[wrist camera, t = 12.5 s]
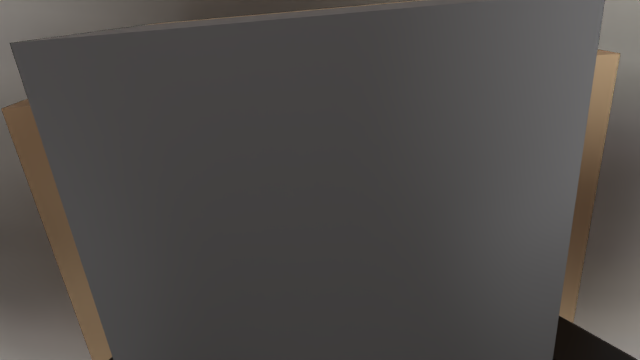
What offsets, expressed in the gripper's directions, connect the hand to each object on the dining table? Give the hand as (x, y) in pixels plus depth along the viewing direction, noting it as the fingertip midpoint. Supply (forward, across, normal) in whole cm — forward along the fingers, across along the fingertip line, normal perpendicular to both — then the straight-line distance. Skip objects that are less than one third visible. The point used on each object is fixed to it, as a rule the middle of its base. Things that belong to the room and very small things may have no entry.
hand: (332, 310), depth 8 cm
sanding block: (+1, 0, -1) cm, 2 cm away
